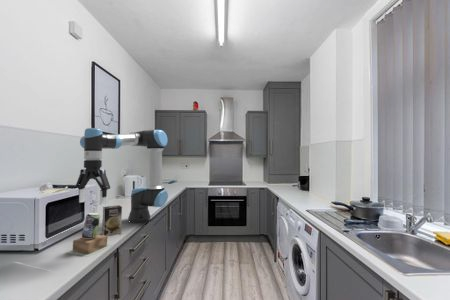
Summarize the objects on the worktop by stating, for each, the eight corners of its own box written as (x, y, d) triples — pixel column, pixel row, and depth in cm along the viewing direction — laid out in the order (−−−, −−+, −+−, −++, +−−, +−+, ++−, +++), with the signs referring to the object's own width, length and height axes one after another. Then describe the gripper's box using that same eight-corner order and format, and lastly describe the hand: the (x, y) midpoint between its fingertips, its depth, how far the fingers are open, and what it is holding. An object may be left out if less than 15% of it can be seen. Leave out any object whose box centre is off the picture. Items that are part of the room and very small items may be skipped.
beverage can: (80, 238, 104) (81, 213, 105) (97, 234, 110) (98, 210, 110) (83, 241, 100) (84, 215, 100) (101, 237, 105) (101, 213, 106)
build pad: (92, 242, 114) (92, 241, 114) (113, 246, 109) (113, 245, 109) (65, 253, 100) (65, 252, 100) (87, 258, 96) (87, 256, 96)
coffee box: (103, 237, 121) (104, 208, 122) (101, 234, 126) (102, 206, 126) (121, 234, 127) (122, 206, 127) (118, 231, 132) (119, 204, 132)
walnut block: (92, 243, 111) (92, 233, 111) (106, 246, 108) (107, 235, 108) (72, 251, 102) (73, 240, 102) (88, 254, 98) (88, 243, 99)
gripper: (67, 159, 107) (66, 202, 107) (105, 159, 99) (105, 206, 98) (81, 159, 114) (81, 200, 114) (118, 159, 106) (118, 203, 105)
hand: (92, 203), depth 106 cm, fingers open, 13 cm apart
